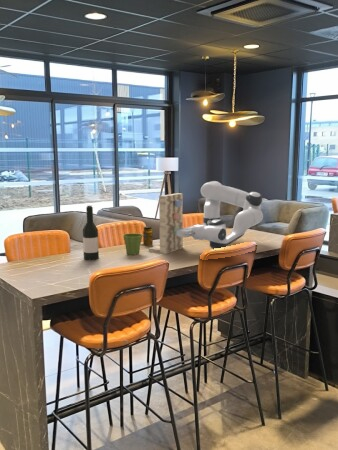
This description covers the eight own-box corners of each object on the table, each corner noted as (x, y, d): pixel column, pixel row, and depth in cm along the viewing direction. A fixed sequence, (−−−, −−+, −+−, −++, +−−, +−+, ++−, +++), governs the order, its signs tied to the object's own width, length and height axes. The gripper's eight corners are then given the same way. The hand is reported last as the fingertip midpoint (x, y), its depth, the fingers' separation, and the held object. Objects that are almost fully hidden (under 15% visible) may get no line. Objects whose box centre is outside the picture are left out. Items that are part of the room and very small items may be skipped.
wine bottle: (80, 258, 246) (78, 205, 241) (92, 256, 252) (90, 204, 248) (90, 261, 241) (88, 207, 236) (101, 258, 247) (100, 205, 242)
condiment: (155, 245, 281) (155, 227, 279) (143, 247, 276) (143, 228, 274) (149, 243, 287) (149, 225, 285) (138, 245, 282) (137, 226, 280)
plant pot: (143, 255, 252) (142, 236, 251) (122, 256, 252) (122, 237, 250) (143, 251, 264) (142, 233, 262) (123, 251, 263) (123, 233, 262)
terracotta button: (171, 219, 266) (171, 212, 265) (179, 220, 263) (179, 212, 262) (167, 220, 262) (167, 212, 261) (176, 220, 259) (176, 213, 258)
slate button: (173, 206, 264) (173, 199, 263) (181, 206, 261) (181, 199, 260) (169, 207, 260) (169, 199, 259) (177, 207, 257) (177, 200, 256)
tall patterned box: (166, 245, 280) (166, 192, 274) (182, 247, 273) (182, 193, 268) (148, 251, 263) (147, 195, 258) (165, 254, 257) (165, 196, 251)
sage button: (171, 232, 267) (171, 225, 266) (179, 233, 264) (179, 225, 263) (167, 233, 263) (167, 226, 263) (176, 234, 260) (176, 226, 259)
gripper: (189, 240, 246) (168, 238, 253) (206, 234, 263) (186, 232, 270) (189, 229, 245) (168, 227, 252) (206, 224, 262) (186, 222, 269)
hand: (177, 230), depth 262 cm, fingers closed, pressing on sage button
